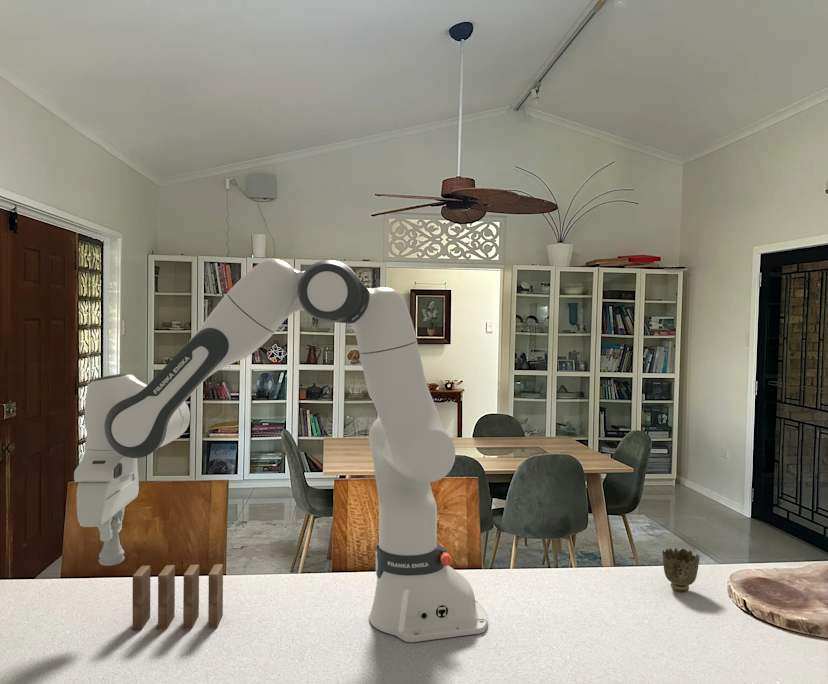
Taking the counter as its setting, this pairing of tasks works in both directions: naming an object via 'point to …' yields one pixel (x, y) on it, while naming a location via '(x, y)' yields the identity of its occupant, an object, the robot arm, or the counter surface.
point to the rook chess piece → (112, 547)
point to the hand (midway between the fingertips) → (111, 535)
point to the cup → (680, 568)
